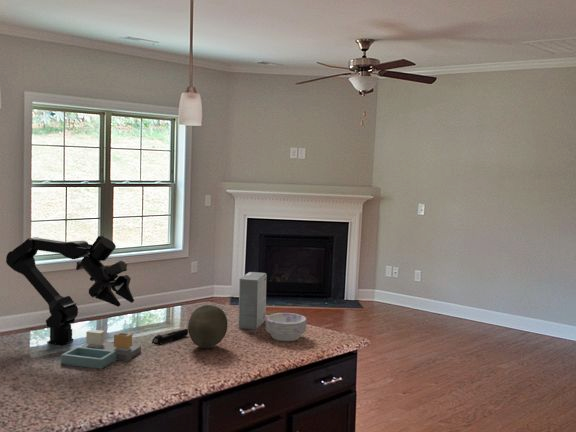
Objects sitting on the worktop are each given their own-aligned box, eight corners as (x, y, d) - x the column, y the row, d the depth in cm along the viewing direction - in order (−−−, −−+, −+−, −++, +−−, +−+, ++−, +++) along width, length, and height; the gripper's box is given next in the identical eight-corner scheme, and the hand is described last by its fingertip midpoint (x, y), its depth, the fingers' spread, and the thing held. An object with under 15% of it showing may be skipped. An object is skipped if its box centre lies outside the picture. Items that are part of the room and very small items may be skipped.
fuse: (86, 352, 207) (86, 331, 207) (90, 349, 210) (91, 329, 210) (99, 353, 206) (100, 333, 206) (104, 351, 209) (104, 330, 209)
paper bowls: (258, 340, 230) (259, 319, 229) (274, 330, 244) (275, 310, 243) (297, 346, 224) (297, 324, 223) (311, 336, 238) (312, 315, 237)
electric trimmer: (190, 337, 231) (190, 329, 230) (158, 346, 218) (158, 337, 218) (183, 335, 233) (183, 327, 233) (151, 343, 221) (151, 334, 220)
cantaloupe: (178, 347, 217) (179, 305, 215) (209, 339, 227) (211, 299, 226) (204, 357, 207) (205, 313, 206) (235, 349, 218) (237, 307, 216)
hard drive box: (247, 318, 259) (249, 271, 257) (265, 320, 258) (267, 272, 256) (237, 328, 244) (239, 278, 242) (256, 330, 243) (258, 279, 241)
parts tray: (61, 364, 195) (61, 354, 195) (76, 355, 204) (77, 346, 203) (101, 369, 192) (102, 359, 192) (116, 360, 201) (116, 351, 200)
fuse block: (76, 354, 204) (76, 348, 204) (92, 346, 214) (92, 340, 214) (126, 360, 200) (126, 354, 200) (140, 351, 210) (140, 346, 210)
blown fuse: (113, 355, 205) (114, 334, 205) (118, 352, 208) (118, 331, 208) (127, 357, 204) (128, 335, 204) (131, 354, 207) (132, 333, 206)
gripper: (96, 255, 200) (128, 290, 197) (125, 251, 218) (154, 283, 215) (75, 279, 202) (106, 314, 199) (105, 274, 220) (134, 306, 217)
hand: (126, 303), depth 208 cm, fingers open, 9 cm apart
